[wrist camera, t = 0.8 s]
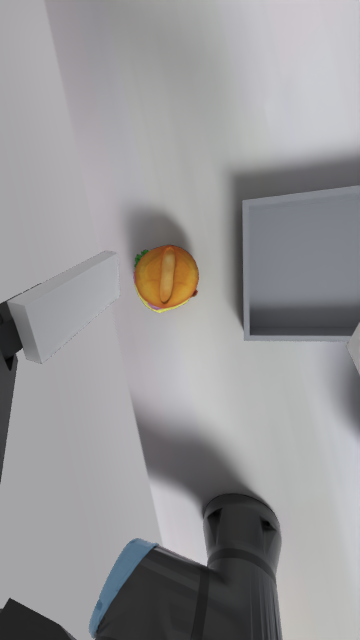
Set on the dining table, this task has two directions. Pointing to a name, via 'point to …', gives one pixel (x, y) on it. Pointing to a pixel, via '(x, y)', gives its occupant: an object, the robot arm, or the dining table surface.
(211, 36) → the dining table surface
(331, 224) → the bin
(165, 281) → the cheeseburger
